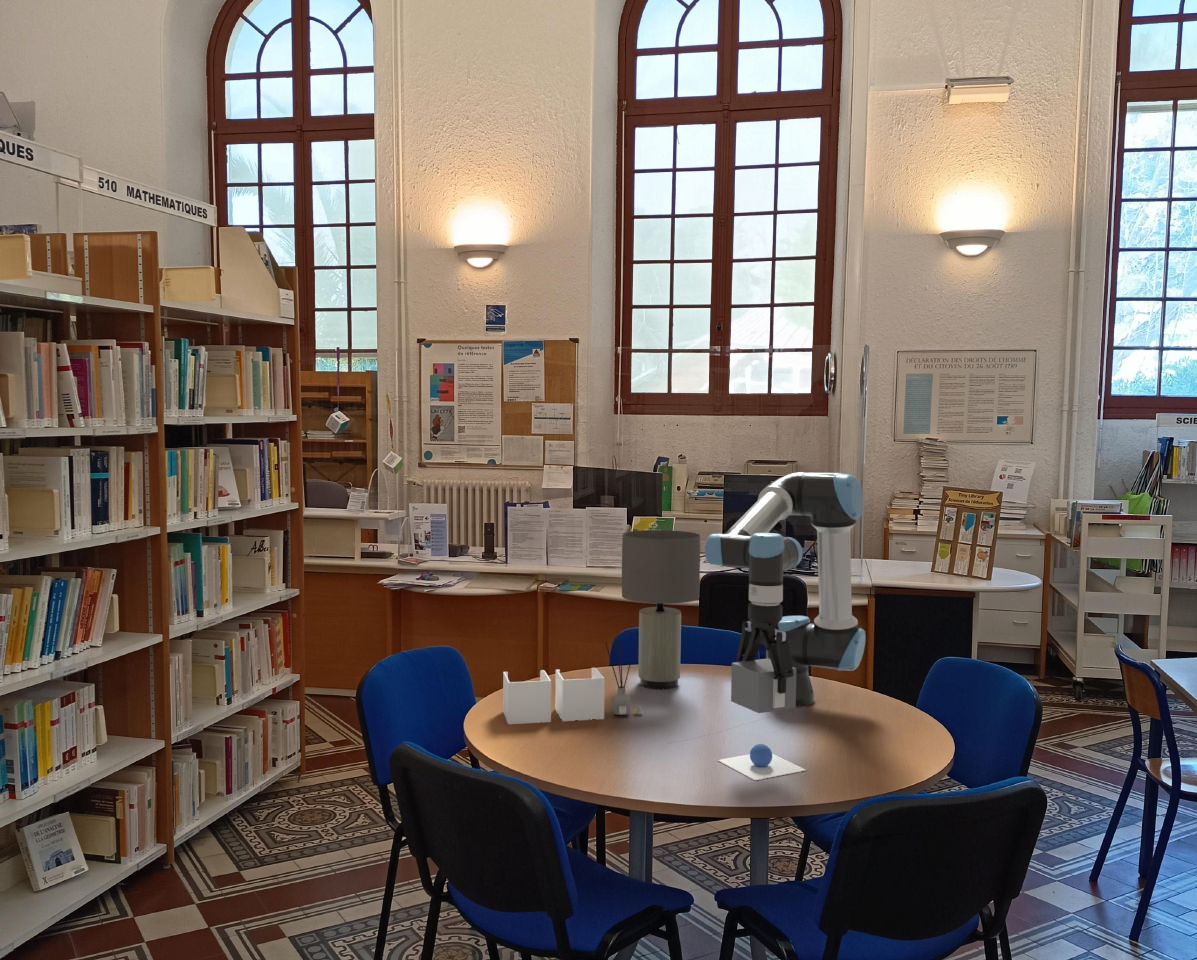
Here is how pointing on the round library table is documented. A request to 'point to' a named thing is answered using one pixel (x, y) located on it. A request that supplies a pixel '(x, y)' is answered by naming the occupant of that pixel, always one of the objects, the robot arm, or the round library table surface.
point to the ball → (761, 755)
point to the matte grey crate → (759, 686)
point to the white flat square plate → (759, 773)
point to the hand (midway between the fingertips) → (763, 700)
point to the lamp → (660, 596)
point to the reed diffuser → (622, 691)
